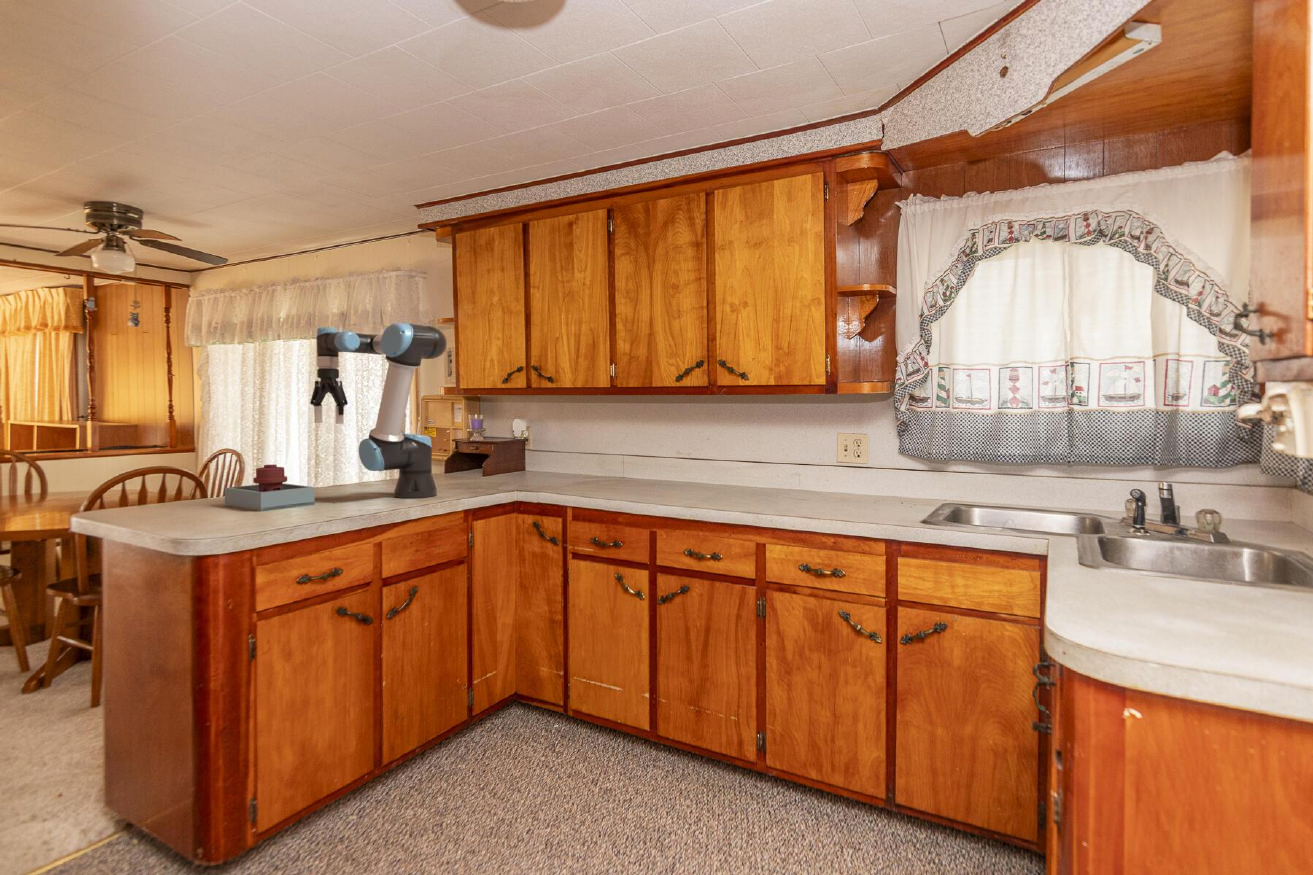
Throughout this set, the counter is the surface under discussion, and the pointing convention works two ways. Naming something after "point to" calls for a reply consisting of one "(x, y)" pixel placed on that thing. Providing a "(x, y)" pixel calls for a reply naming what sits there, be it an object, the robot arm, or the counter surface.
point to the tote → (269, 497)
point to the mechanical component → (270, 478)
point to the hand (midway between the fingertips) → (329, 423)
